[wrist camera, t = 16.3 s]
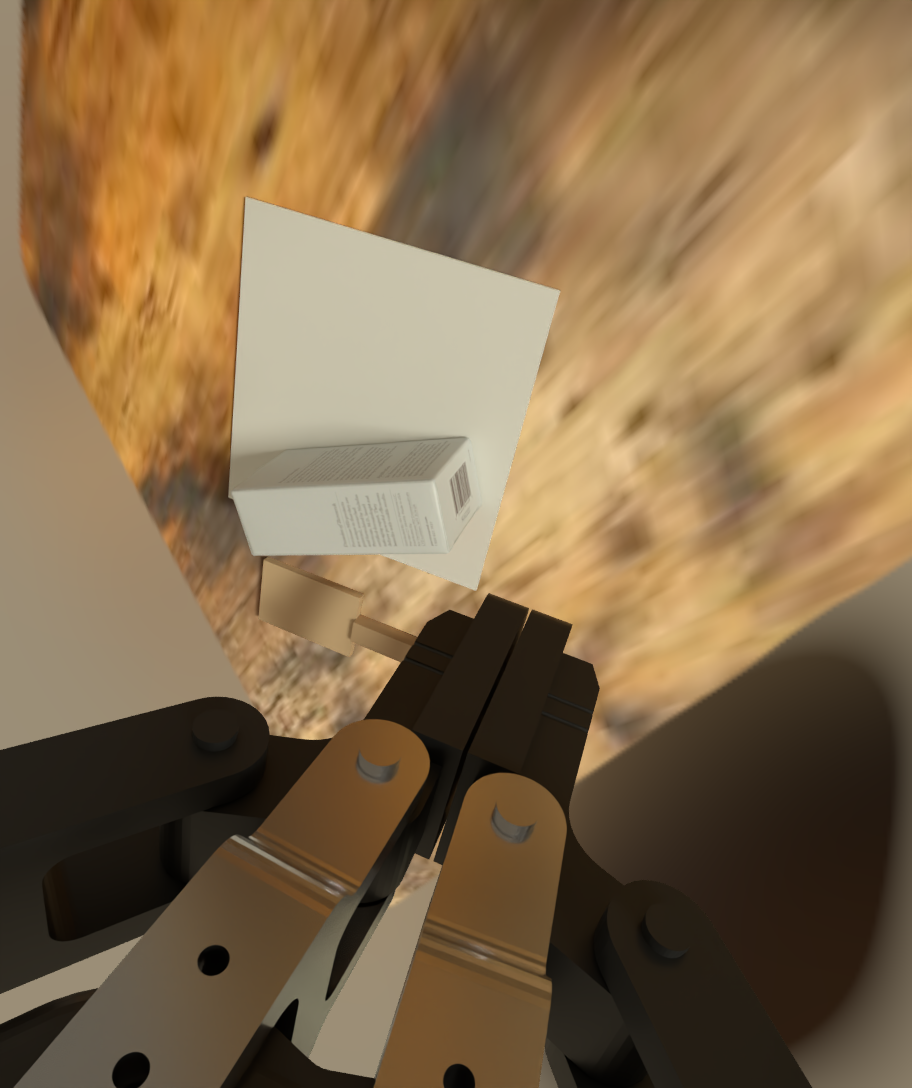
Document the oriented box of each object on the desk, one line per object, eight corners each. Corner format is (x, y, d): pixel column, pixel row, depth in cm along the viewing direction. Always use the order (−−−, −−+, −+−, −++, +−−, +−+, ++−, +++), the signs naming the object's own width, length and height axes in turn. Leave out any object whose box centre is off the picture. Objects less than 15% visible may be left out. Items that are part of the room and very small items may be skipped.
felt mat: (560, 290, 36) (559, 291, 36) (476, 589, 46) (475, 590, 46) (247, 196, 39) (245, 196, 39) (230, 496, 49) (228, 497, 48)
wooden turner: (479, 639, 47) (474, 648, 47) (462, 697, 50) (457, 706, 49) (268, 555, 50) (260, 562, 49) (263, 614, 53) (255, 622, 52)
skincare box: (485, 507, 43) (303, 511, 47) (472, 435, 41) (285, 446, 45) (448, 559, 38) (249, 558, 42) (432, 479, 36) (226, 487, 40)
